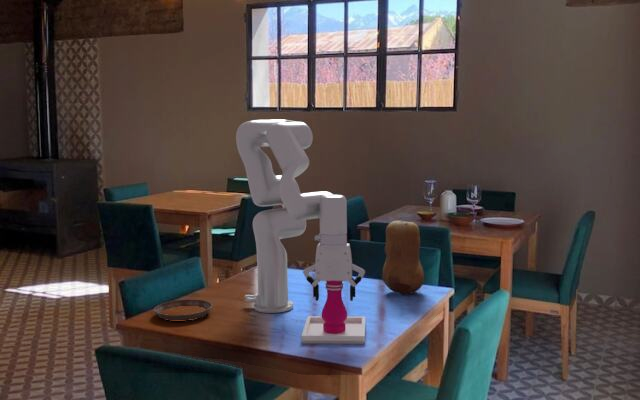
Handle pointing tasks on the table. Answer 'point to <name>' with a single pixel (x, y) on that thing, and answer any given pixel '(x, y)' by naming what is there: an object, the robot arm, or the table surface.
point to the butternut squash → (402, 258)
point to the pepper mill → (334, 308)
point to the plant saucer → (185, 302)
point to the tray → (317, 335)
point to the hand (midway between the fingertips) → (334, 299)
